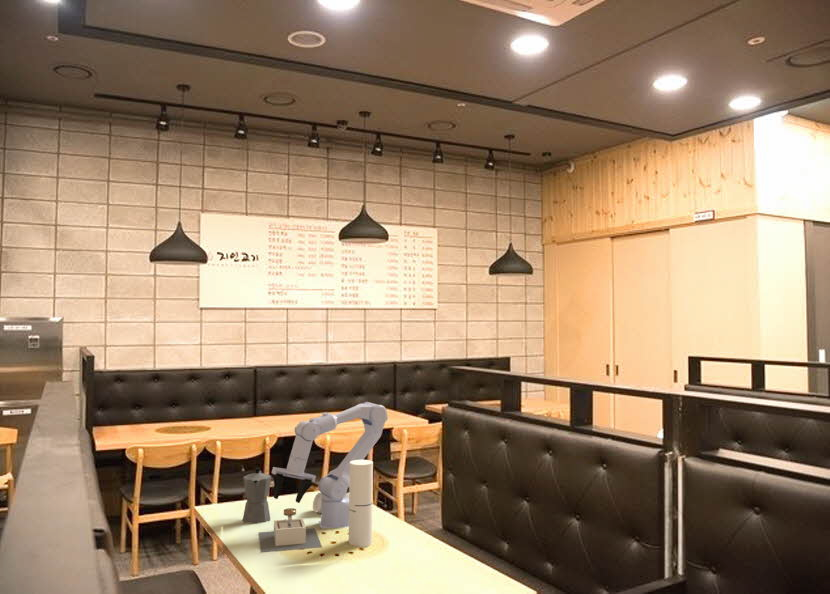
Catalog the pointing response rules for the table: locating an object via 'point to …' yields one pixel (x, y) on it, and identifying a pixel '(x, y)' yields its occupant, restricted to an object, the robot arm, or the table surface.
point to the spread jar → (318, 501)
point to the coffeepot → (256, 497)
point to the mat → (269, 545)
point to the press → (289, 533)
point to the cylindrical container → (360, 503)
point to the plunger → (289, 519)
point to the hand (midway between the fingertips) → (286, 500)
